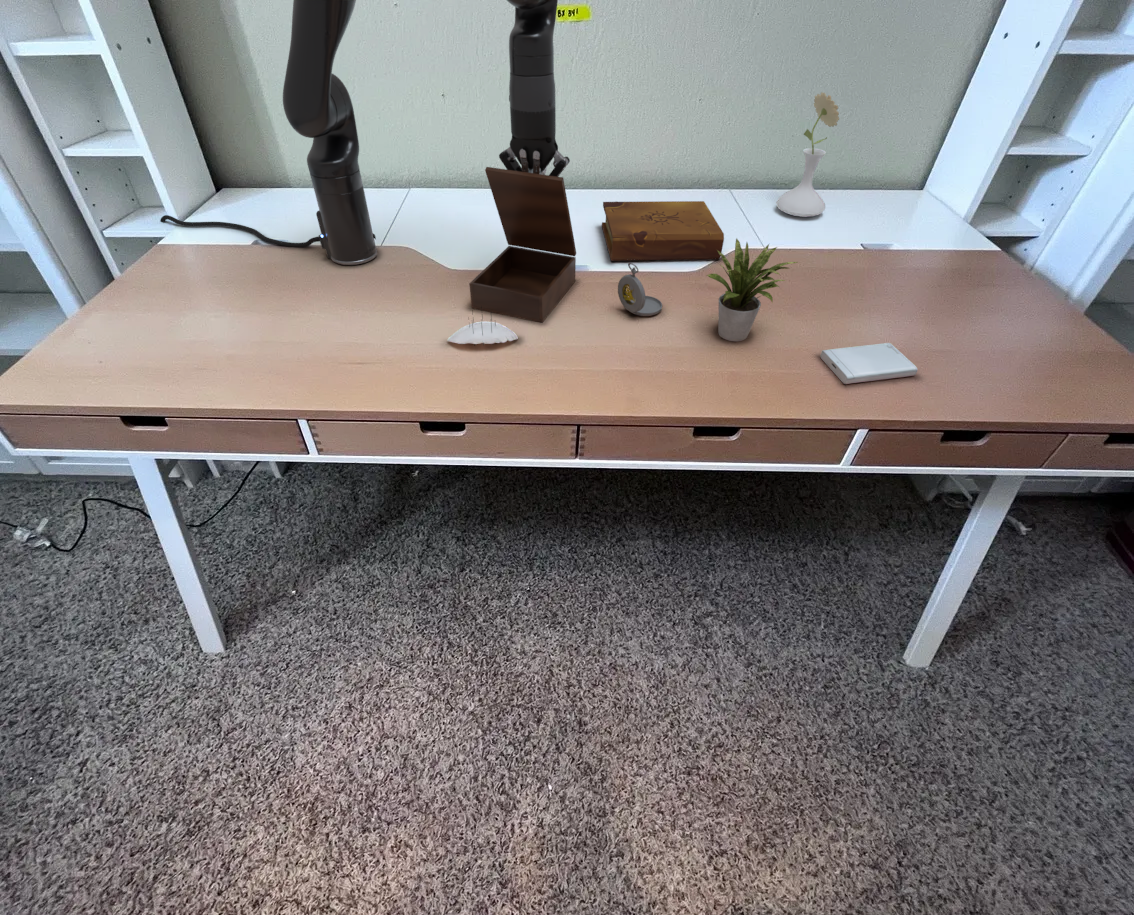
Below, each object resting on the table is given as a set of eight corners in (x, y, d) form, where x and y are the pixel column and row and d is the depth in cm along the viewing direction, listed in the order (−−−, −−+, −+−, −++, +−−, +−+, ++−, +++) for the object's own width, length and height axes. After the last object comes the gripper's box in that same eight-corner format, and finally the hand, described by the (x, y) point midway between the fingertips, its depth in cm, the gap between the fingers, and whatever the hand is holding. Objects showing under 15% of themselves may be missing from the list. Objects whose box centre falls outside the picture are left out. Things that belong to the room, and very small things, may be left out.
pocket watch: (665, 303, 118) (671, 252, 111) (655, 325, 112) (661, 273, 105) (623, 296, 120) (627, 246, 113) (611, 317, 114) (614, 265, 107)
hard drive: (889, 341, 106) (822, 348, 104) (918, 368, 100) (848, 376, 98) (885, 349, 107) (819, 357, 105) (914, 377, 101) (844, 385, 99)
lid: (561, 180, 104) (563, 177, 104) (484, 169, 107) (486, 166, 108) (575, 256, 120) (576, 253, 120) (508, 244, 124) (509, 241, 124)
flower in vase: (829, 221, 147) (864, 103, 130) (780, 221, 147) (809, 102, 130) (813, 201, 157) (844, 88, 140) (768, 200, 157) (793, 87, 140)
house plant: (757, 369, 102) (782, 276, 91) (680, 344, 107) (694, 253, 96) (784, 330, 111) (810, 241, 100) (711, 309, 116) (728, 222, 105)
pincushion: (447, 352, 105) (442, 323, 101) (448, 333, 109) (444, 304, 105) (518, 349, 105) (517, 320, 102) (517, 330, 110) (515, 301, 106)
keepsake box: (542, 322, 112) (542, 297, 109) (471, 308, 116) (469, 283, 112) (575, 281, 124) (575, 257, 121) (510, 269, 128) (508, 245, 124)
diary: (611, 263, 130) (612, 236, 126) (601, 227, 144) (603, 201, 140) (720, 261, 131) (724, 234, 127) (700, 225, 145) (704, 200, 141)
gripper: (578, 101, 104) (576, 207, 115) (505, 94, 107) (510, 197, 119) (562, 113, 98) (561, 222, 110) (486, 104, 102) (493, 211, 113)
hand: (535, 209), depth 114 cm, fingers closed
